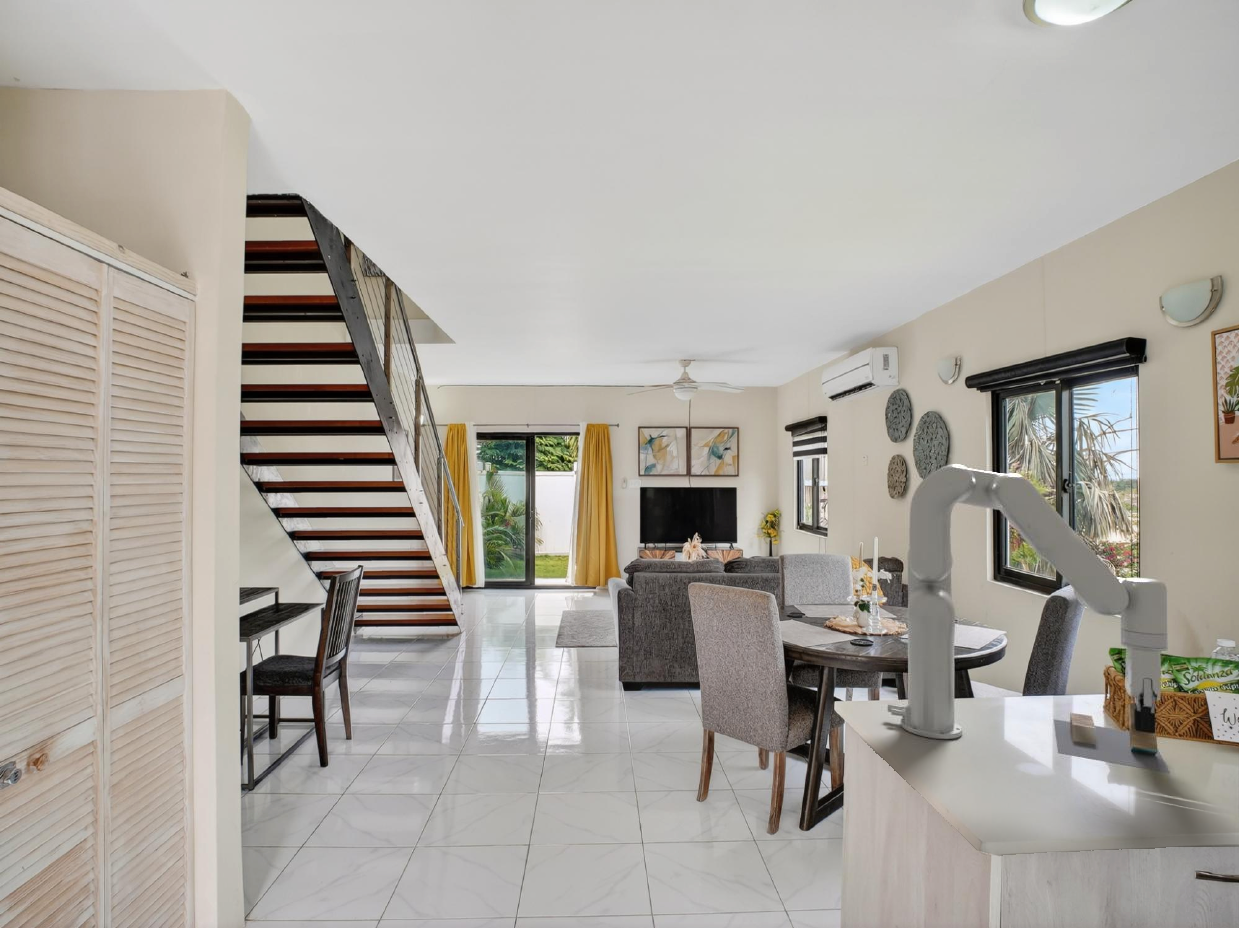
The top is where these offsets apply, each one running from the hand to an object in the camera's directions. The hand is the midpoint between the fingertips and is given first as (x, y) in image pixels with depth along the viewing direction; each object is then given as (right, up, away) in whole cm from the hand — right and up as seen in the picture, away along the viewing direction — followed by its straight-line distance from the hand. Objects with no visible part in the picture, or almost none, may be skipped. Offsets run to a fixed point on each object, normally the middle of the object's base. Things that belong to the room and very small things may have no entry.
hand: (1144, 730), depth 138 cm
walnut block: (-7, -4, +7) cm, 11 cm away
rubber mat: (-3, -6, +7) cm, 10 cm away
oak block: (0, -5, +1) cm, 5 cm away
